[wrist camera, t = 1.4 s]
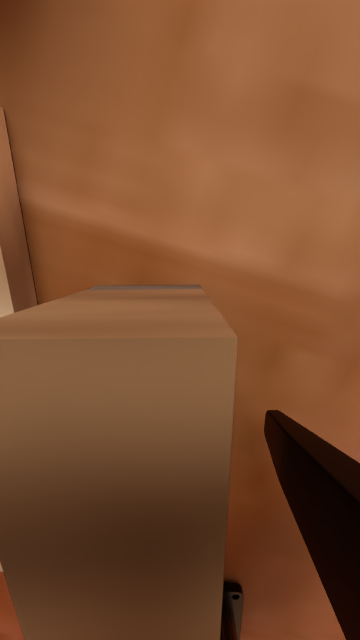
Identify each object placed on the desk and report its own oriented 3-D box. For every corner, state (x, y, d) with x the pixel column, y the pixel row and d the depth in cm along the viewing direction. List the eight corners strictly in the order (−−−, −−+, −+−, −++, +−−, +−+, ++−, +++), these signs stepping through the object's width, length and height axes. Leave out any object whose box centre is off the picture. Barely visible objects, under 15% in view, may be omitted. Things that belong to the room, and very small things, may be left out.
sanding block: (197, 450, 12) (217, 679, 6) (115, 451, 12) (37, 679, 6) (199, 284, 10) (237, 337, 3) (98, 285, 10) (-70, 339, 3)
